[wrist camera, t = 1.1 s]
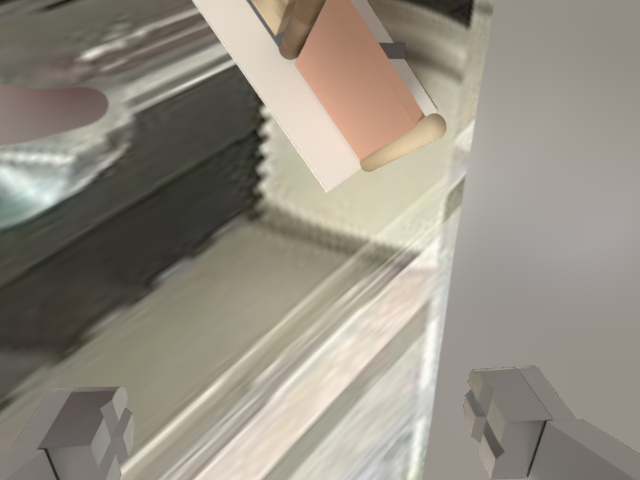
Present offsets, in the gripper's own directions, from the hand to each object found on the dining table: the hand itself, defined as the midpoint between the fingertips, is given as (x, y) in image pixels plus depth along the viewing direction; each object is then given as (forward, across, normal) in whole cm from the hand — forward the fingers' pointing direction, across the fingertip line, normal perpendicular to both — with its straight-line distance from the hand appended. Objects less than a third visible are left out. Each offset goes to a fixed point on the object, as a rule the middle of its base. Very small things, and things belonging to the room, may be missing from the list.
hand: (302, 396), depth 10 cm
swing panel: (+34, -4, 0) cm, 35 cm away
